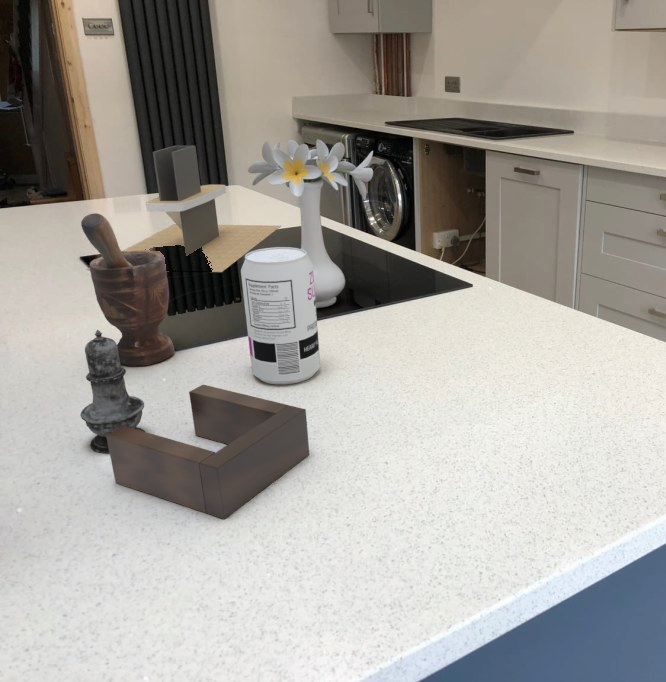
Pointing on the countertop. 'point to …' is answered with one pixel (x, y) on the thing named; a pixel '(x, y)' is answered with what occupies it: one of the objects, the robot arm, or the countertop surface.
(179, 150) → the architectural model
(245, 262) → the supplement can
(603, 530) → the countertop surface
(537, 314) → the countertop surface
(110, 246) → the mortar and pestle
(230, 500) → the stand
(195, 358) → the countertop surface
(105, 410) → the salt shaker
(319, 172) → the flower vase
